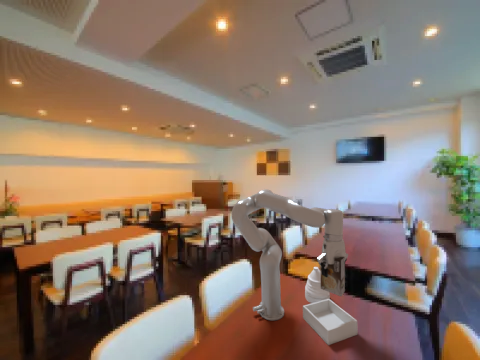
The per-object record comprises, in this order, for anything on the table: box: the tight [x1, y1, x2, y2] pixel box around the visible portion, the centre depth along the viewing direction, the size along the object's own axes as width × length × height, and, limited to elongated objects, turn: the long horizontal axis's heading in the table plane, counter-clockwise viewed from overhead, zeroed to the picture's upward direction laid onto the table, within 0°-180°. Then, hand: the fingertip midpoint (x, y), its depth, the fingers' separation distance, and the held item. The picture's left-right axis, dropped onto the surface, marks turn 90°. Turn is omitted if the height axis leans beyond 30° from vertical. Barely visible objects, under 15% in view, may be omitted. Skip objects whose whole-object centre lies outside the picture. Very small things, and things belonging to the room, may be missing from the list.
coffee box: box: [320, 253, 346, 297], centre depth 92 cm, size 9×6×16 cm
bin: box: [302, 299, 359, 346], centre depth 92 cm, size 16×17×6 cm
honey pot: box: [304, 266, 331, 304], centre depth 112 cm, size 13×13×18 cm
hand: (332, 274), depth 92 cm, fingers closed on coffee box, 8 cm apart
